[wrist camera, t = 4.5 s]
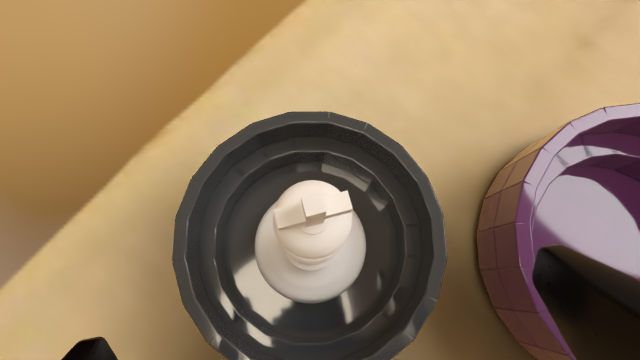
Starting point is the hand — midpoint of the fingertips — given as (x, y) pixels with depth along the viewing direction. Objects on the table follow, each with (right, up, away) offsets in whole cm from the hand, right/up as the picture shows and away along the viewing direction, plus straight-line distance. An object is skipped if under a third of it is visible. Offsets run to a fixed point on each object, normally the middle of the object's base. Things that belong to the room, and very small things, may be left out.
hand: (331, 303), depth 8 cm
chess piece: (-1, 0, +10) cm, 10 cm away
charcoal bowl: (-1, 0, +10) cm, 10 cm away
